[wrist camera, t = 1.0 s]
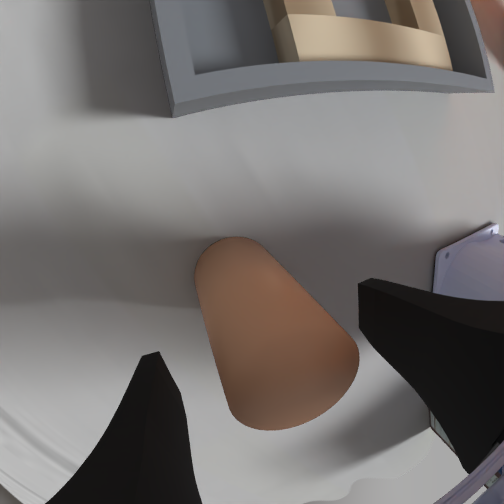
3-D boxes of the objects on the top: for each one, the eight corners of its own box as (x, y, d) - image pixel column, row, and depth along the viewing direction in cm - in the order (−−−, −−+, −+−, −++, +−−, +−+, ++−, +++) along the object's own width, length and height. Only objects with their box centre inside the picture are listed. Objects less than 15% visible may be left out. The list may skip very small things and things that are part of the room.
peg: (264, 226, 15) (359, 304, 7) (278, 296, 16) (357, 399, 9) (184, 250, 14) (208, 360, 7) (206, 320, 15) (245, 444, 8)
